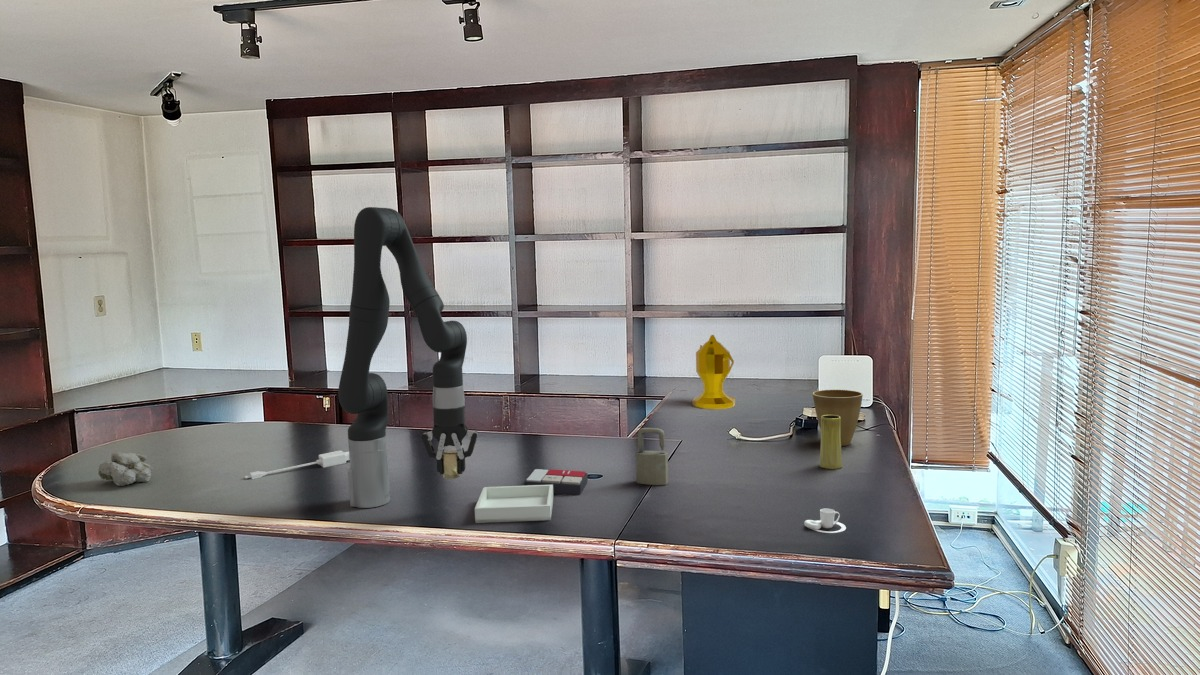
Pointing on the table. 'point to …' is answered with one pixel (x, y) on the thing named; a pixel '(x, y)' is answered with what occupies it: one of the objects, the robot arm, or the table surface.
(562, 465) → the table surface
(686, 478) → the table surface
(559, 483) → the calculator
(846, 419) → the plant pot
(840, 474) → the table surface
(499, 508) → the tray
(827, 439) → the vase
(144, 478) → the mineral
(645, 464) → the padlock
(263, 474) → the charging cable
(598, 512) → the table surface
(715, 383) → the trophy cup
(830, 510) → the teacup and saucer
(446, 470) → the cylinder
